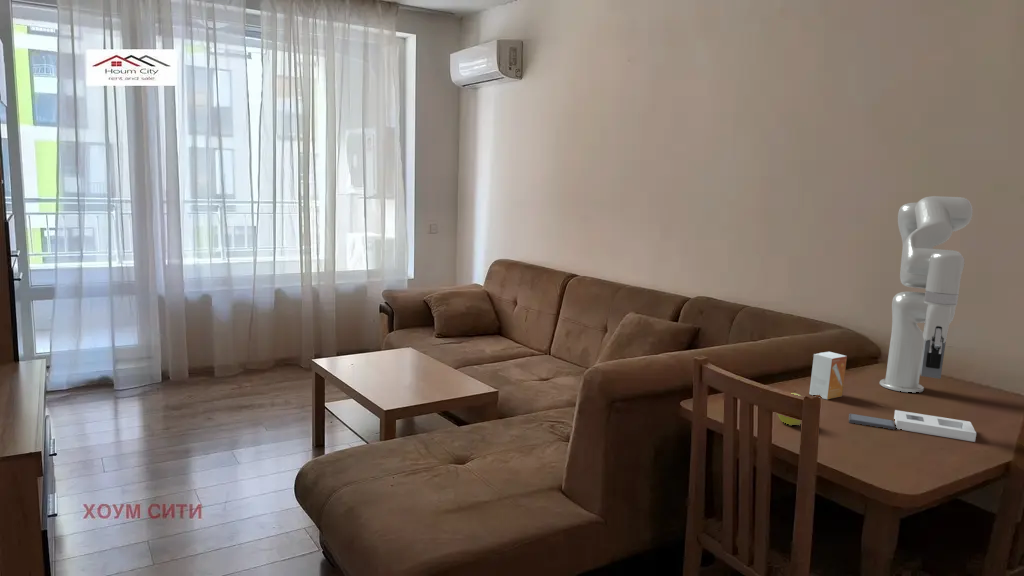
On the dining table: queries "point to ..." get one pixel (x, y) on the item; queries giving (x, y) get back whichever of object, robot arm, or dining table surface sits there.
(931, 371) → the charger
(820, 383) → the small box
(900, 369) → the robot arm
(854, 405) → the dining table surface
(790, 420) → the apple
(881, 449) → the dining table surface
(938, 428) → the outlet plate
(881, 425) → the phone
